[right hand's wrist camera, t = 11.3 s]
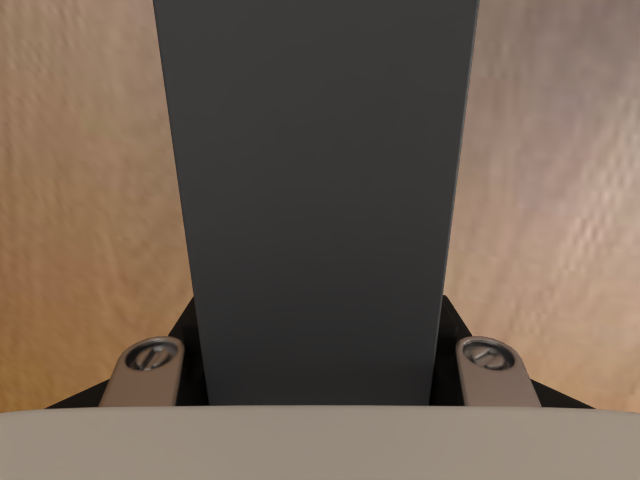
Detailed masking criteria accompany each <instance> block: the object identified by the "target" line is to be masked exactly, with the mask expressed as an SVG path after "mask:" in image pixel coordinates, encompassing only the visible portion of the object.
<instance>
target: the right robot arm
mask: <svg viewBox="0 0 640 480" xmlns="http://www.w3.org/2000/svg"><path fill="white" fill-rule="evenodd" d="M0 480H640V413H634V412H625V411H614V410H604V409H595V408H593V407H591V406H589V405H586V404H584V403H582V402H580V401H578V400H576V399H573V398H571V397H569V396H567V395H565V394H562V393H560V392H558V391H556V390H554V389H551V388H549V387H547V386H545V385H543V384H541V383H538V382H536V381H534V380H532V379H530V377H529V375H528V373H527V370H526V368H525V366H524V363H523V361H522V359H521V357H520V356H519V354H518V353H517V352H516V351H515V350H514V349H513V348H512V347H510V346H508V345H507V344H505V343H503V342H501V341H498V340H495V339H493V338H488V337H483V336H472V334H471V333H470V331H469V330H468V328H467V327H466V325H465V324H464V322H463V321H462V319H461V317H460V316H459V314H458V313H457V311H456V310H455V308H454V307H453V305H452V304H451V302H450V300H449V299H448V297H447V296H446V295H443V297H442V305H441V313H440V321H439V329H438V337H437V345H436V353H435V361H434V369H433V377H432V385H431V393H430V401H429V406H376V405H254V406H209V402H208V395H207V387H206V380H205V373H204V366H203V359H202V351H201V344H200V337H199V330H198V323H197V315H196V308H195V301H194V297H193V298H192V299H191V301H190V302H189V304H188V306H187V307H186V309H185V310H184V312H183V313H182V315H181V316H180V318H179V319H178V321H177V323H176V324H175V326H174V327H173V329H172V330H171V332H170V333H169V335H168V336H157V337H152V338H147V339H145V340H142V341H139V342H137V343H135V344H133V345H132V346H130V347H128V348H127V349H126V350H125V351H124V352H123V353H122V354H121V356H120V357H119V359H118V361H117V363H116V366H115V368H114V370H113V373H112V375H111V377H110V379H108V380H106V381H104V382H102V383H100V384H98V385H95V386H93V387H91V388H89V389H87V390H84V391H82V392H80V393H78V394H76V395H73V396H71V397H69V398H67V399H65V400H63V401H60V402H58V403H56V404H54V405H52V406H49V407H47V408H45V409H36V410H26V411H15V412H6V413H0Z"/></svg>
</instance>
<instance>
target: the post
mask: <svg viewBox="0 0 640 480" xmlns="http://www.w3.org/2000/svg"><path fill="white" fill-rule="evenodd" d="M479 1H480V0H153V6H154V13H155V20H156V27H157V35H158V42H159V49H160V56H161V63H162V71H163V78H164V85H165V92H166V99H167V107H168V114H169V121H170V128H171V135H172V143H173V150H174V157H175V164H176V171H177V179H178V186H179V193H180V200H181V207H182V215H183V222H184V229H185V236H186V243H187V251H188V258H189V265H190V272H191V279H192V287H193V294H194V301H195V308H196V315H197V323H198V330H199V337H200V344H201V351H202V359H203V366H204V373H205V380H206V387H207V395H208V402H209V406H254V405H376V406H429V401H430V393H431V385H432V377H433V369H434V361H435V353H436V345H437V337H438V329H439V321H440V313H441V305H442V297H443V289H444V281H445V273H446V265H447V257H448V249H449V241H450V233H451V225H452V217H453V209H454V201H455V193H456V185H457V177H458V169H459V161H460V153H461V145H462V137H463V129H464V121H465V113H466V105H467V97H468V89H469V81H470V73H471V65H472V57H473V49H474V41H475V33H476V25H477V17H478V9H479Z"/></svg>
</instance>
